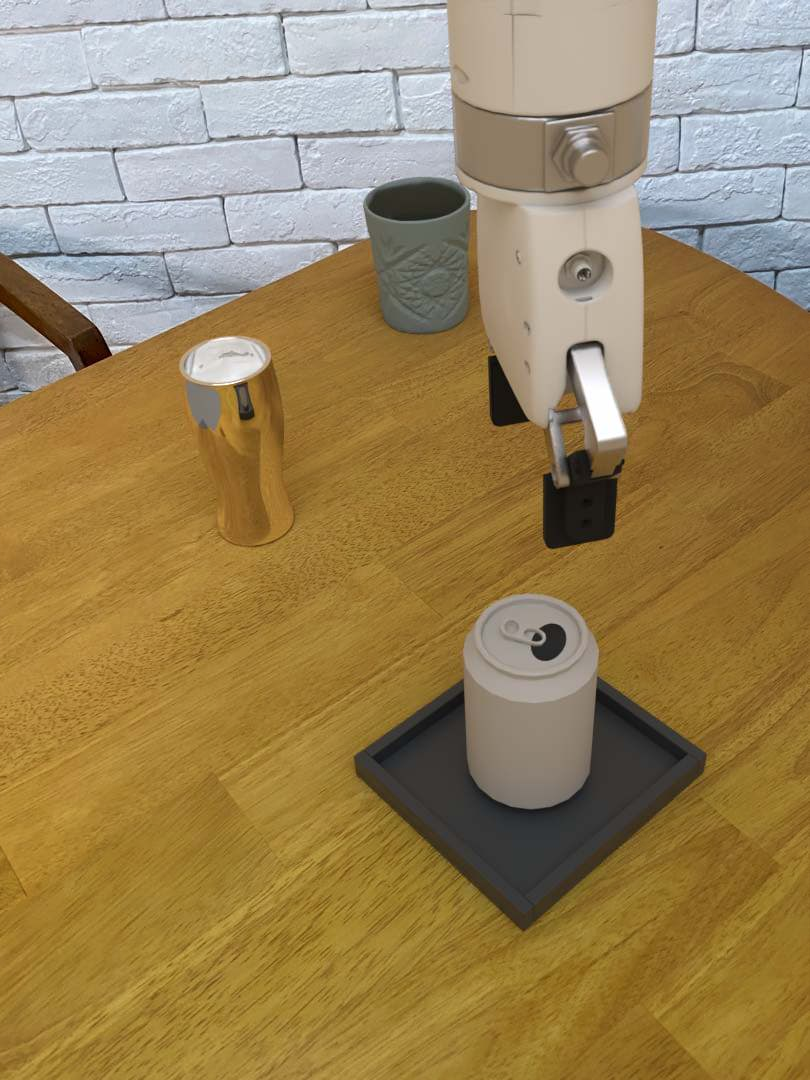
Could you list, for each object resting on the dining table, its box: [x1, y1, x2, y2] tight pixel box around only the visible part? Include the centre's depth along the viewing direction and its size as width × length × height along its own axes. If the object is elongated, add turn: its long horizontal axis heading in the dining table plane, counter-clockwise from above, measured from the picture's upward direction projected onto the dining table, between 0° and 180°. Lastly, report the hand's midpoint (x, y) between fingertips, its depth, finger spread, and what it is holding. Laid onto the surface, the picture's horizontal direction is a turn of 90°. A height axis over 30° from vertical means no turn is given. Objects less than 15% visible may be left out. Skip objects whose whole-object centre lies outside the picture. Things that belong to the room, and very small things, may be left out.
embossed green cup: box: [362, 176, 472, 335], centre depth 109 cm, size 10×10×12 cm
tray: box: [353, 675, 708, 932], centre depth 69 cm, size 16×15×2 cm
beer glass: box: [178, 335, 295, 547], centre depth 85 cm, size 7×7×15 cm
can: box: [462, 592, 600, 809], centre depth 65 cm, size 8×8×12 cm
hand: (547, 475), depth 55 cm, fingers open, 9 cm apart
